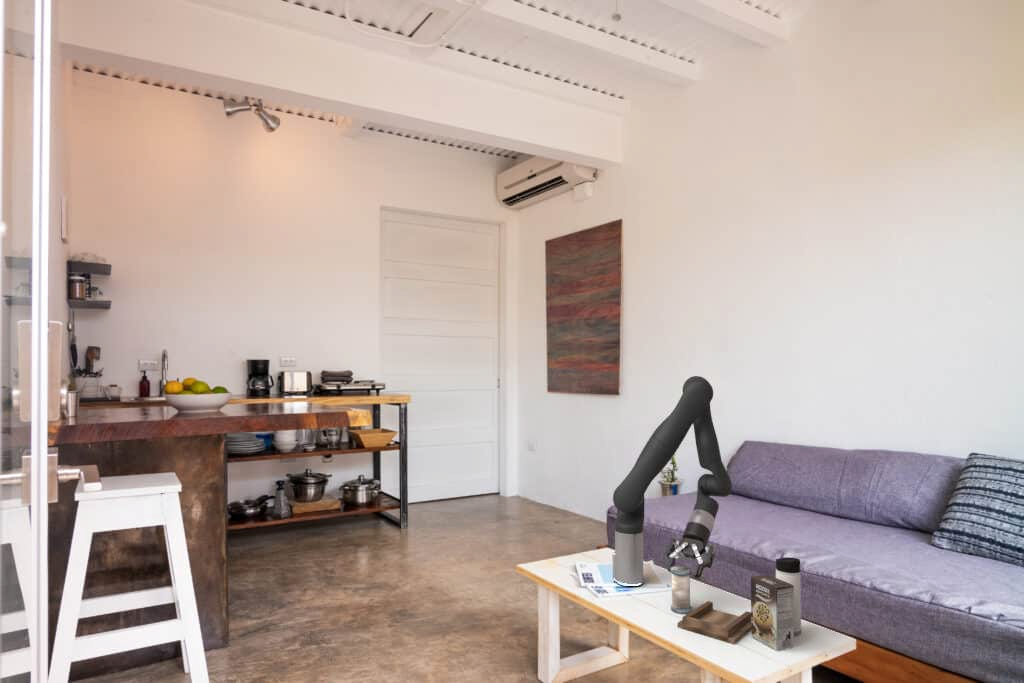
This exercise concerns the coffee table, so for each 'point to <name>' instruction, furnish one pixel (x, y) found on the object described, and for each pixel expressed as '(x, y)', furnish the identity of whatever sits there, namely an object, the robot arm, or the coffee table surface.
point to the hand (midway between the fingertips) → (682, 574)
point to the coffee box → (772, 612)
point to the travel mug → (791, 574)
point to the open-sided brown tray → (716, 623)
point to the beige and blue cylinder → (681, 589)
